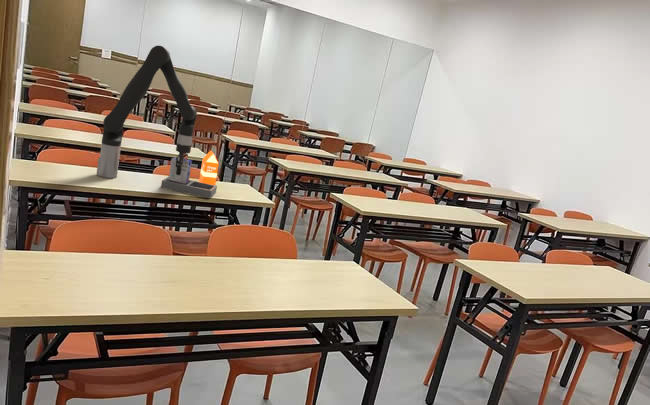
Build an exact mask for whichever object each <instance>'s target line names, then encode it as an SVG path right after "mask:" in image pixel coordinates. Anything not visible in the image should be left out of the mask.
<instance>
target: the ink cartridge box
mask: <svg viewBox="0 0 650 405" xmlns="http://www.w3.org/2000/svg"><path fill="white" fill-rule="evenodd" d="M185 156H187V155H185ZM176 157H177V156H176ZM176 157H171V161H170V168H169V174H168V177H169V179H168V180H172V181H177V182H181V183H187V182H189V180H190V175H191V170H192V162H193V160H190V159H187V160H186V158H185V160H184V162H183V161H181V163H182V162H183V165H182V168H181V174H180V175H176V171H177V168H176ZM178 165H180V164H178Z"/></svg>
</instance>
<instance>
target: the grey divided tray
mask: <svg viewBox="0 0 650 405" xmlns="http://www.w3.org/2000/svg"><path fill="white" fill-rule="evenodd" d="M168 179H169V176H167V177H165V178H164V179H162V180H161V184H160V188H161V189H164V188H166V189H165V190H169V189H171V190H170V191H174V190H175V192H179V193H183V192H185V193H184V194H188V193H190V194H189V195H193V194H195V195H194V196H198V195H199V197H204V198H209V199H212V197H213V196H214V195H215V194H216V193H217V189H218V185H216V184H215V185H211V184H206V183H202V182H199V181H196V180H191V179H189V182H187V183H181V182H177V181H172V180H168Z"/></svg>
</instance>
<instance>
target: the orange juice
mask: <svg viewBox="0 0 650 405" xmlns="http://www.w3.org/2000/svg"><path fill="white" fill-rule="evenodd" d="M200 167H201V168H200V174H199V180H198V182H202V183H206V184H211V185H216V183H217V182H216V181H217V177H218V171H219V170H218V169H219V161H218V159H217V157H216V155H215V153H214V152H213V150H209V151H208V153H206V155H205V156H204V157H203V158H202V162H201V166H200Z"/></svg>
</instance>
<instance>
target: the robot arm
mask: <svg viewBox="0 0 650 405" xmlns="http://www.w3.org/2000/svg"><path fill="white" fill-rule="evenodd" d="M170 54H171V53H170V51H169V50H168V49H167V48H166V47H164V46H162V45H155V46H153V47H152V48H151V49H150V51H149V52H148V54H147V56H146V58H145V60H144V62H143V63H142V65H141V67H140V68H139V69H138V70H137V72H136V73H135V74H134V76H132V78H131V80H130V81H129V82H128V83H127V86H126V87H125V88H124V90H123V92H122V94H121V96H120V97H119V100H118V101H117V103H116V104H115V106H114V107H113V109H112V110H111V111H110V112H109V114H107V115H106V116H105V117H104V118H103V132H102V137H101V146H100V154H99V157H97V167H96V176H99V177H102V178H106V179H116V178H117V177H118V170H119V163H120V157H121V156H120V154H121V146H122V140H123V133H124V127H125V122H126V121H127V119H128V117H129V115H130V114H131V113H132V111H133V110H134V109H135V108H136V107H137V106H138V104H139V103H140V102H141V100H143V98H144V97H145V96H146V94H147V92H148V90H149V88H150V87H151V84H152V82H153V79H154V77H155V75H156V73H157V72H158V71H159V70H160V71H161V72H162V74H163V76H164V78H165V81H166V83H167V85H168V89H169V91H170V94H171V96H172V98H173V99H174V101H175V103H176V107H177V109H178V112H179V115H180V116H181V118H182V121H181V123H180V125H179V130H178V136H177V138H176V139H177V140H176V147H175V151H176V152H178V154H177V156H176V168H177V171H176V175H180V174H181V168H182V165H183V162H184V160H185V158H186V160H188V156H189V154H191V149H192V143H193V133H194V127H195V123H196V120H197V114H198V113H197V108H195V107H194V106H192V105H191V103H190V101H189V96H188V93H187V91H186V88H185V87H184V85H183V83H182V81H181V80H180V78H179V76H178V74H177V72H176V70H175V67H174V64H173V61H172V58H171V55H170ZM185 155H187V156H185ZM181 161H183V162H182V163H181ZM178 164H180V165H178Z"/></svg>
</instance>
